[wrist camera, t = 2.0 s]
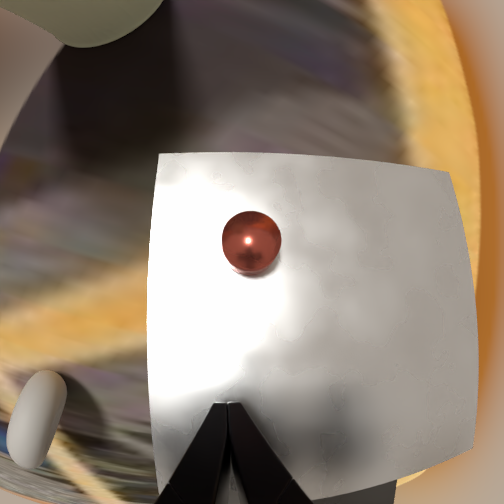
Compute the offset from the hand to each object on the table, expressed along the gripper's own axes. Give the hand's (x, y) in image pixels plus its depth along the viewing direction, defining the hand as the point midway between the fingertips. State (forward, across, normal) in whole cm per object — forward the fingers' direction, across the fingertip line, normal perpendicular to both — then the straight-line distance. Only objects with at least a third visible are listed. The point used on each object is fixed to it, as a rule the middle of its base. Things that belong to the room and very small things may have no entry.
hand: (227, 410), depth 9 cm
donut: (+13, +17, +12) cm, 24 cm away
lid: (+3, -4, +1) cm, 5 cm away
